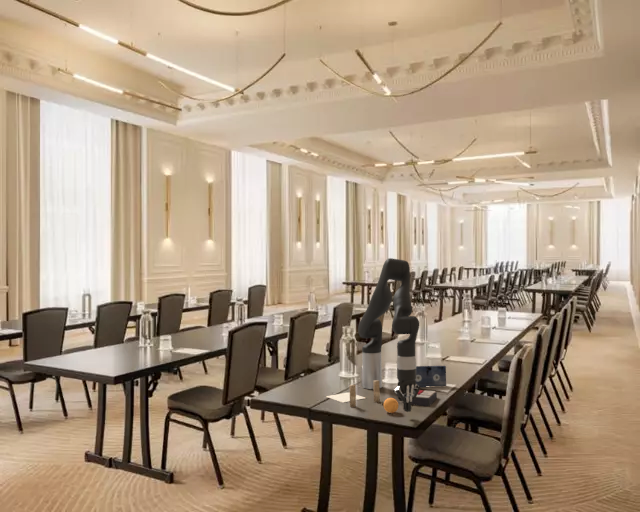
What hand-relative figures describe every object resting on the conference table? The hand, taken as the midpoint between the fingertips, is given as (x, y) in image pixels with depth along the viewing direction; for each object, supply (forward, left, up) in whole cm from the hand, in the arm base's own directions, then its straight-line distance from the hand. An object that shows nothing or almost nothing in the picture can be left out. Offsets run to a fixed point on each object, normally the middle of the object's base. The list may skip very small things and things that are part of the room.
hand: (407, 411), depth 221 cm
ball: (-10, 0, 0) cm, 10 cm away
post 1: (-27, -7, -3) cm, 28 cm away
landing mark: (-41, 0, -3) cm, 41 cm away
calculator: (-16, +23, -3) cm, 28 cm away
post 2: (-27, +7, -3) cm, 28 cm away
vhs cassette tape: (-34, +44, -3) cm, 55 cm away
